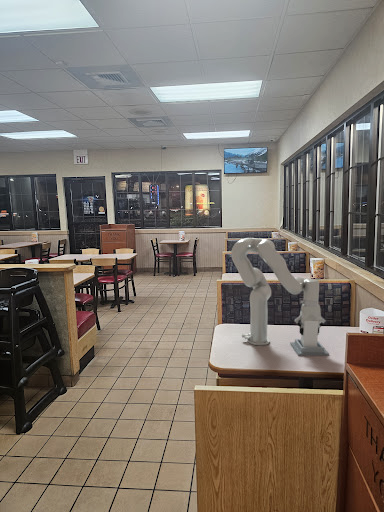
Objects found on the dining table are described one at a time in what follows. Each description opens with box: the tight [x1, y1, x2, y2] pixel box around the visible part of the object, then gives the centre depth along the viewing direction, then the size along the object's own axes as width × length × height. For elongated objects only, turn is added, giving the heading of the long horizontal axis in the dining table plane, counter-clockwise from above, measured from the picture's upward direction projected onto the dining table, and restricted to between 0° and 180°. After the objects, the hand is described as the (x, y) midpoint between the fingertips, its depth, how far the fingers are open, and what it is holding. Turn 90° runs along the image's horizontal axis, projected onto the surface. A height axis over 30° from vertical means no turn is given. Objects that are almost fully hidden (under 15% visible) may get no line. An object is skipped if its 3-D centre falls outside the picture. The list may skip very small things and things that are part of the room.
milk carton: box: [300, 313, 319, 347], centre depth 190 cm, size 7×7×19 cm
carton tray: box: [289, 338, 330, 357], centre depth 192 cm, size 16×15×4 cm
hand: (309, 334), depth 191 cm, fingers closed on milk carton, 7 cm apart
